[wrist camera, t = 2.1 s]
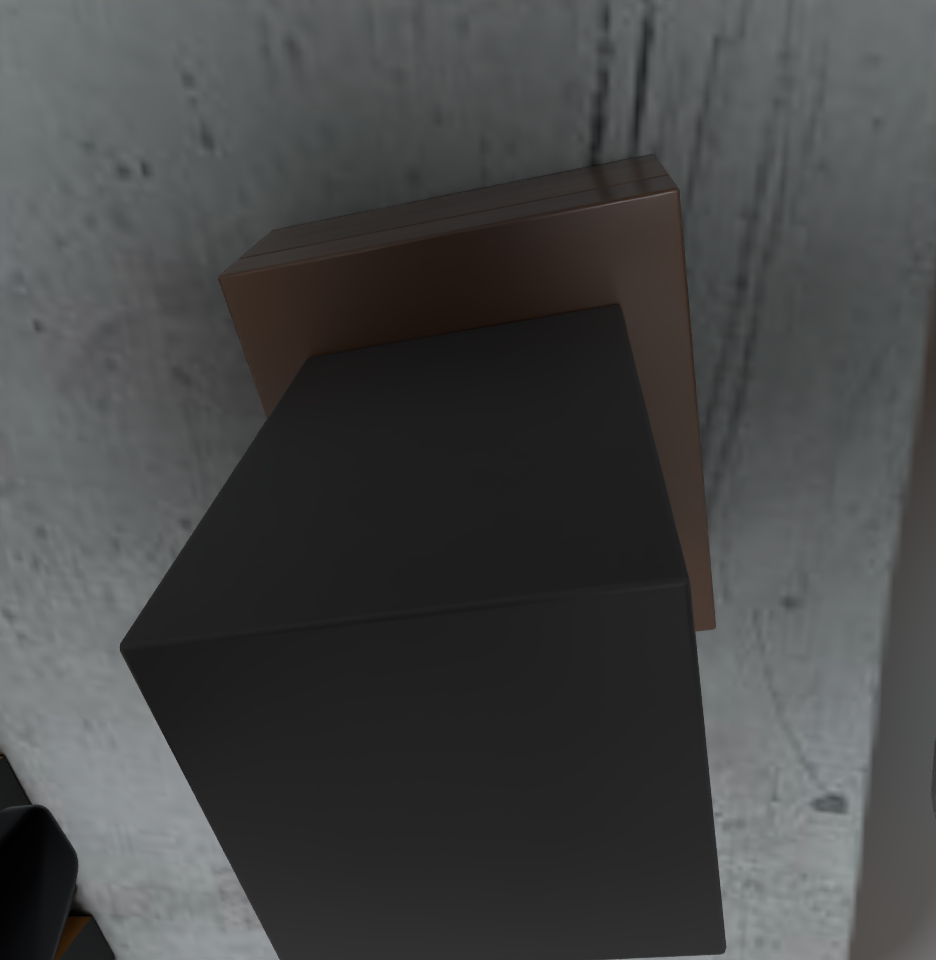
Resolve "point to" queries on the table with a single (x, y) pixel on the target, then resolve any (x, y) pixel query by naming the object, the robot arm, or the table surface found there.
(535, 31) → the table surface
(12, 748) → the table surface
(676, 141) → the table surface
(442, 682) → the black rectangular block
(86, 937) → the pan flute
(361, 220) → the brown wooden tile
